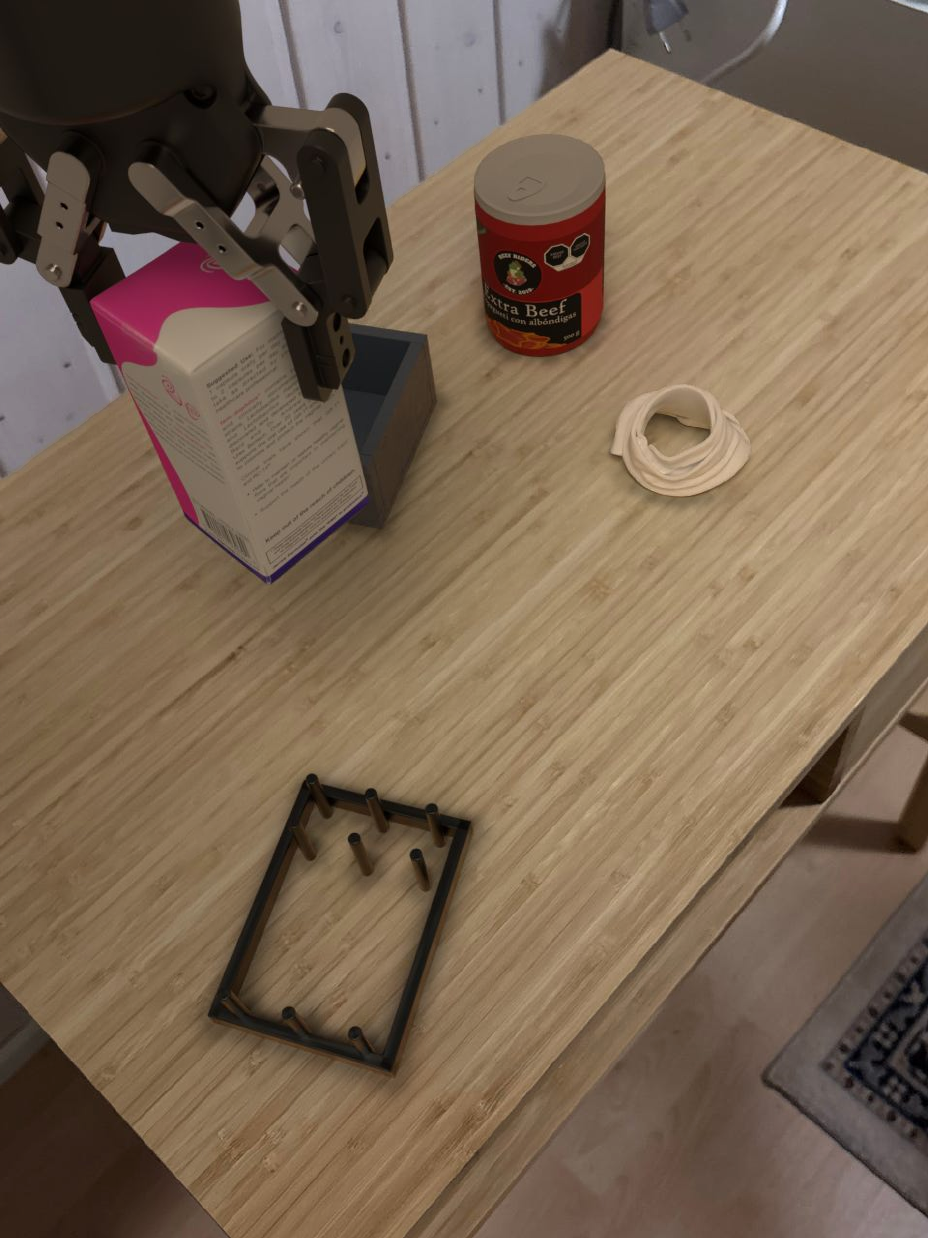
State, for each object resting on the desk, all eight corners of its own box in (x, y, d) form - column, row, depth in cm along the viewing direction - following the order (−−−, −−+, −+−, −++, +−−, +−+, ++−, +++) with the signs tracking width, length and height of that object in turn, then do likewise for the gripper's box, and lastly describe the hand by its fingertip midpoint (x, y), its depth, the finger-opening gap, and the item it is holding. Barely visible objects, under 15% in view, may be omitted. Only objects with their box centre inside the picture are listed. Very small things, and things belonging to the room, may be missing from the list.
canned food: (466, 343, 75) (450, 200, 66) (516, 267, 79) (507, 121, 70) (575, 372, 73) (573, 228, 64) (620, 292, 77) (625, 145, 68)
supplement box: (376, 499, 47) (321, 279, 38) (269, 590, 45) (182, 381, 36) (285, 433, 50) (212, 211, 40) (180, 516, 48) (76, 303, 38)
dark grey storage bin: (382, 529, 67) (367, 466, 63) (219, 498, 70) (193, 435, 65) (437, 400, 73) (427, 333, 68) (284, 376, 75) (264, 309, 70)
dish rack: (394, 1079, 50) (381, 1057, 47) (213, 1022, 52) (188, 998, 49) (473, 830, 56) (466, 796, 53) (308, 789, 58) (291, 753, 55)
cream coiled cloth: (753, 439, 70) (771, 377, 66) (733, 516, 66) (751, 455, 62) (624, 410, 71) (635, 347, 67) (598, 484, 67) (607, 422, 63)
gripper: (-300, -78, 27) (0, 409, 41) (247, -36, 24) (374, 481, 37) (-121, -220, 31) (99, 270, 44) (374, -202, 27) (447, 323, 41)
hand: (224, 365), depth 41 cm, fingers closed on supplement box, 7 cm apart
